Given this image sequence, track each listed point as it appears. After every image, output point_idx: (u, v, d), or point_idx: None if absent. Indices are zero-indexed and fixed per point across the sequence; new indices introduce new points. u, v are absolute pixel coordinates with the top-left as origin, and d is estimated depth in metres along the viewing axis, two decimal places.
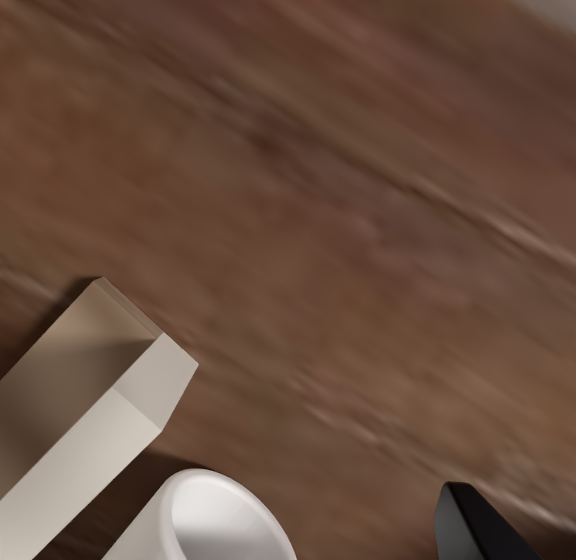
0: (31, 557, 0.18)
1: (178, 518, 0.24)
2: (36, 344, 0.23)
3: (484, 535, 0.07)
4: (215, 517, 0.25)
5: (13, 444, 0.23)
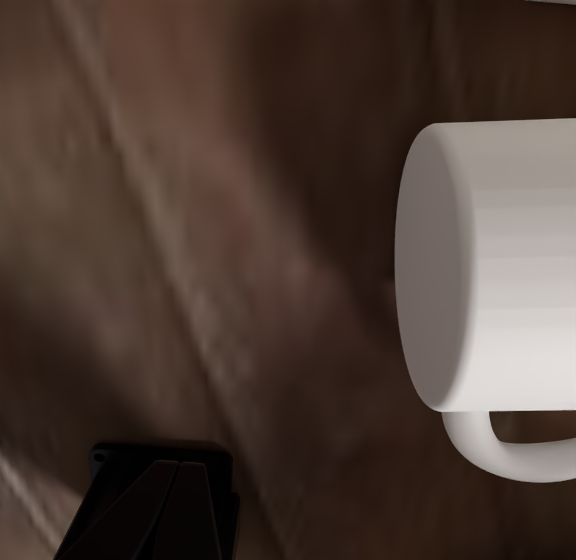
0: None
1: None
2: None
3: (173, 512, 0.07)
4: None
5: None
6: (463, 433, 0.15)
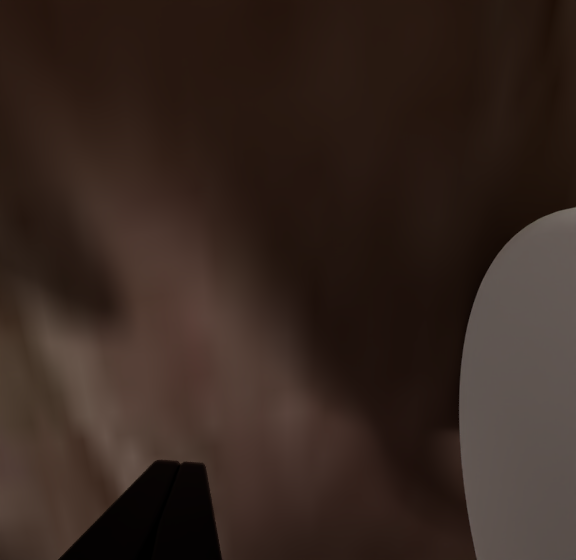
0: None
1: None
2: None
3: (173, 512, 0.07)
4: None
5: None
6: None
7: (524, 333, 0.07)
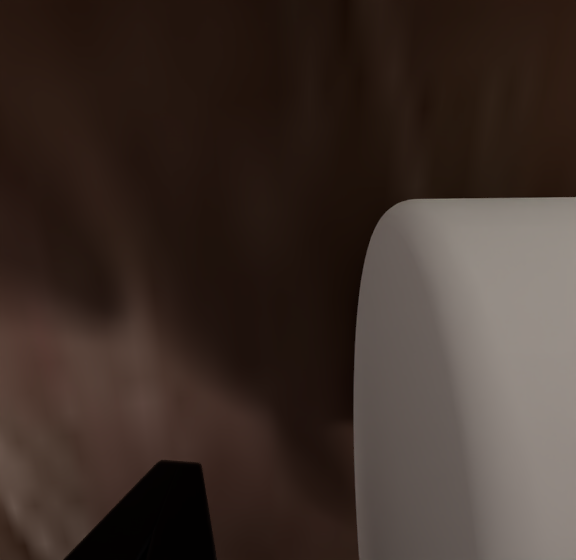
0: None
1: None
2: None
3: (169, 511, 0.07)
4: None
5: None
6: None
7: (374, 328, 0.07)
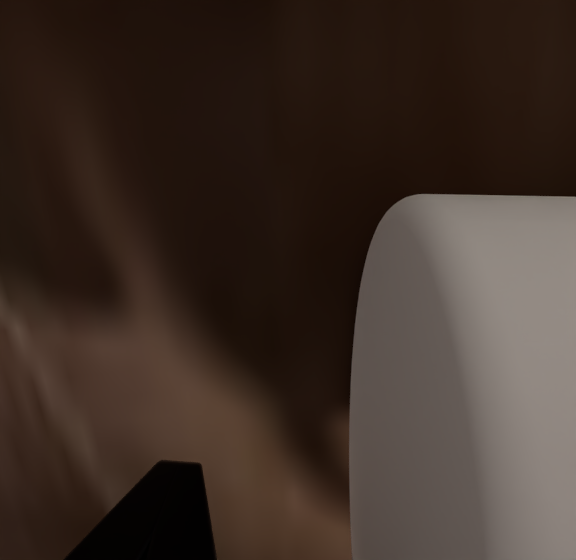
0: None
1: None
2: None
3: (169, 511, 0.07)
4: None
5: None
6: None
7: (376, 323, 0.07)
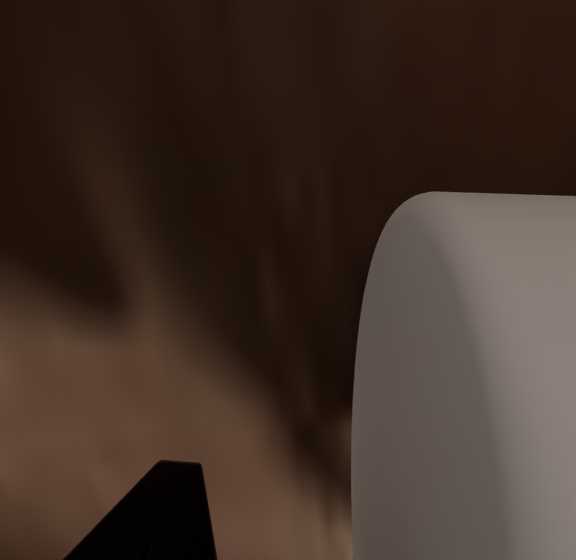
0: None
1: None
2: None
3: (169, 511, 0.07)
4: None
5: None
6: None
7: (383, 322, 0.07)
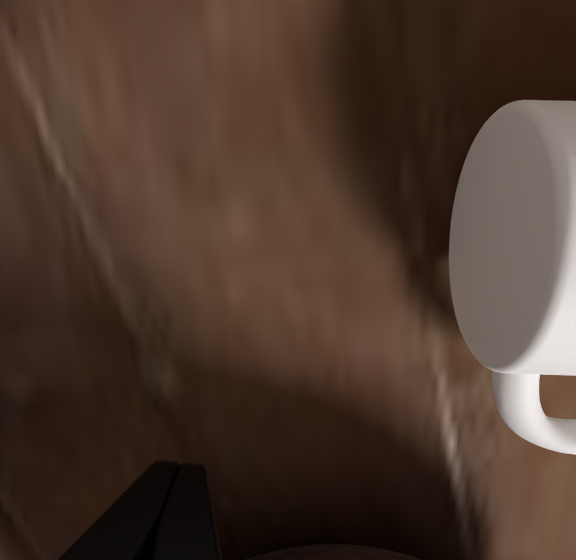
0: None
1: None
2: None
3: (173, 512, 0.07)
4: None
5: None
6: (514, 402, 0.16)
7: (482, 170, 0.15)
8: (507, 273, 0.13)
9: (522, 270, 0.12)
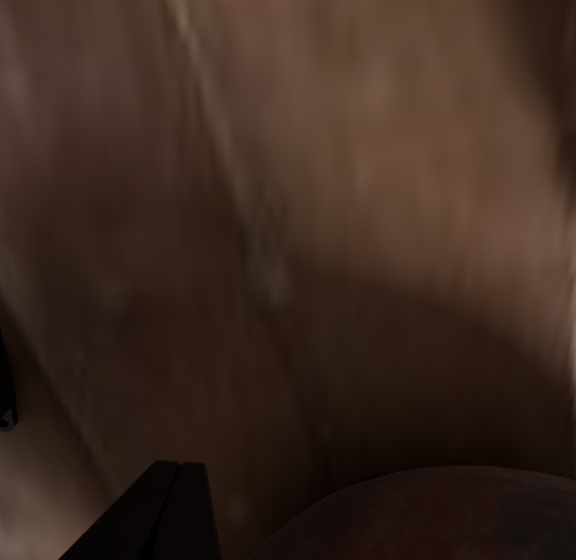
0: None
1: None
2: None
3: (173, 512, 0.07)
4: None
5: None
6: None
7: None
8: None
9: None
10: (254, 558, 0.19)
